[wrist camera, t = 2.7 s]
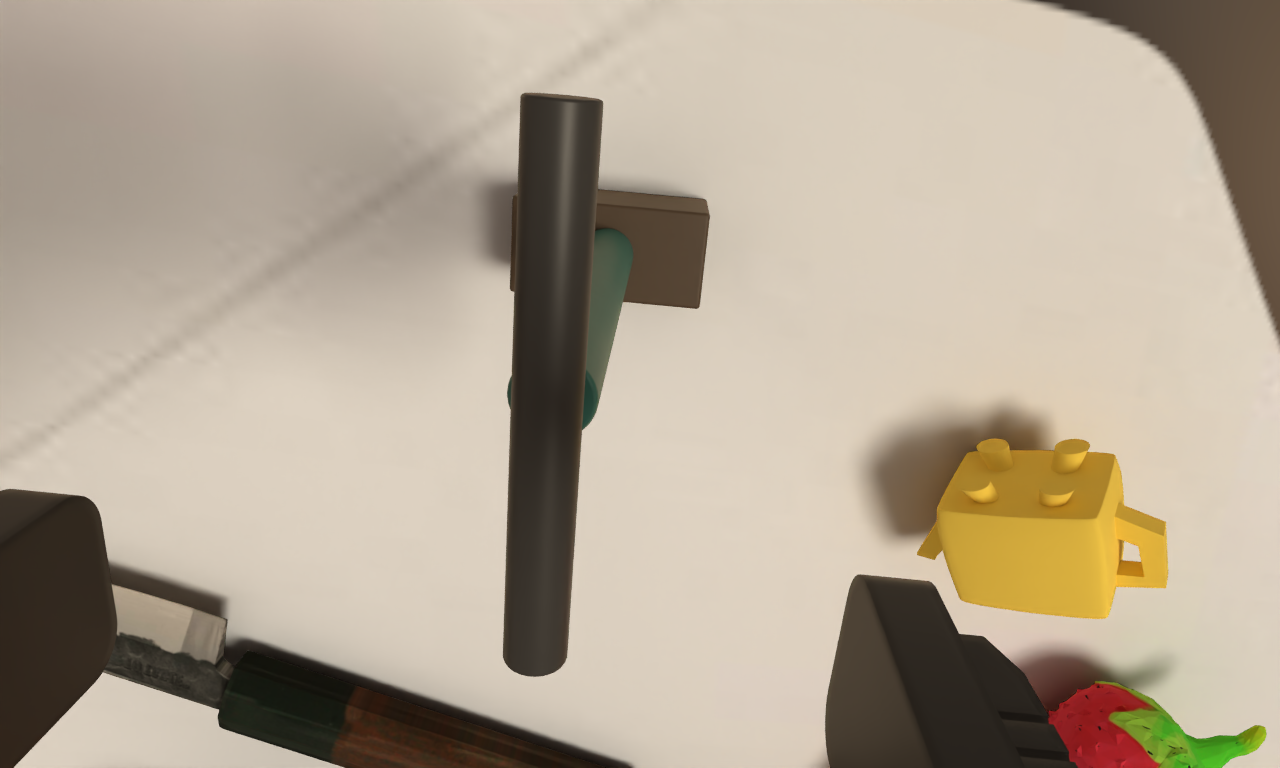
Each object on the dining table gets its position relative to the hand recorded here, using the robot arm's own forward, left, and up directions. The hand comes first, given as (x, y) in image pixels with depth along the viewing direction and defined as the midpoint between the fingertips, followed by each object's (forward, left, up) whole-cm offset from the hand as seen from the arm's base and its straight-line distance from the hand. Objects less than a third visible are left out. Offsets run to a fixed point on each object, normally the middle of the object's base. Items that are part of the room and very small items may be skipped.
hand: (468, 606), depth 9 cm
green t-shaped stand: (0, 0, -21) cm, 21 cm away
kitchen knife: (+19, -14, -21) cm, 32 cm away
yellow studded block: (+5, +14, -18) cm, 24 cm away
